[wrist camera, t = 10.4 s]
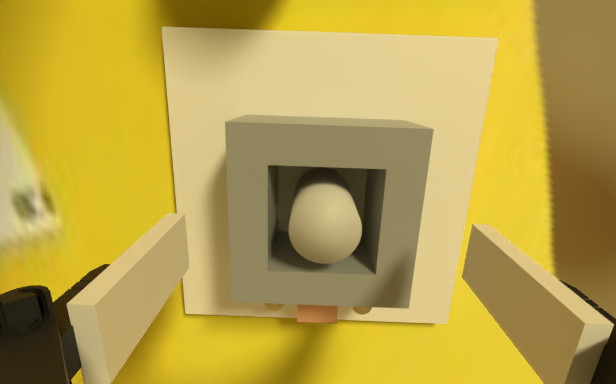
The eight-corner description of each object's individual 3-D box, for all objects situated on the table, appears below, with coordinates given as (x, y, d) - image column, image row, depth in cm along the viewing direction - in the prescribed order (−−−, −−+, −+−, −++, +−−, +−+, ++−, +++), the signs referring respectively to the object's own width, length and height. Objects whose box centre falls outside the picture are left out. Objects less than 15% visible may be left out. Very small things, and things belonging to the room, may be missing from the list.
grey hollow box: (246, 114, 23) (224, 121, 18) (404, 120, 23) (433, 129, 18) (250, 300, 28) (233, 354, 22) (383, 305, 28) (401, 361, 22)
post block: (169, 29, 23) (94, -3, 15) (489, 40, 23) (581, 13, 15) (190, 305, 29) (145, 383, 21) (441, 314, 29) (489, 396, 21)
